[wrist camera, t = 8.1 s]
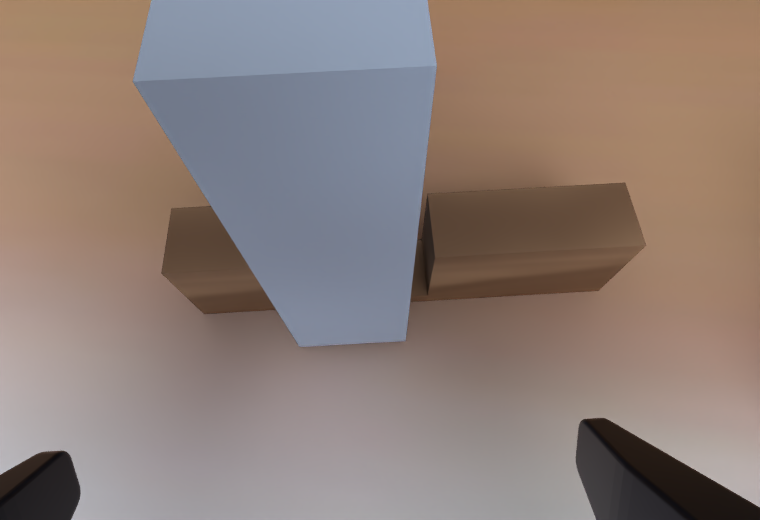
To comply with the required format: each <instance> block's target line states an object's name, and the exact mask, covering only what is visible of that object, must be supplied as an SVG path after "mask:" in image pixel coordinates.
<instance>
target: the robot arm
mask: <svg viewBox="0 0 760 520" xmlns="http://www.w3.org/2000/svg"><path fill="white" fill-rule="evenodd" d="M576 465H577V469H578V473H579V475H580V478H581V481H582V483H583V486H584V488H585V491H586V494H587V496H588V499H589V502H590V504H591V507H592V509H593V512H594V515H595V517H596V520H760V507H758V506H756V505H755V504H753V503H751V502H749V501H748V500H746V499H744V498H742V497H741V496H739V495H737V494H736V493H734V492H732V491H730V490H729V489H727V488H725V487H723V486H722V485H720V484H718V483H717V482H715V481H713V480H711V479H710V478H708V477H706V476H704V475H703V474H701V473H699V472H697V471H696V470H694V469H692V468H691V467H689V466H687V465H685V464H684V463H682V462H680V461H678V460H677V459H675V458H673V457H672V456H670V455H668V454H666V453H665V452H663V451H661V450H659V449H658V448H656V447H654V446H653V445H651V444H649V443H647V442H646V441H644V440H642V439H640V438H639V437H637V436H635V435H634V434H632V433H630V432H628V431H627V430H625V429H623V428H621V427H620V426H618V425H616V424H614V423H613V422H611V421H609V420H607V419H605V418H593V419H583V420H582V421H581V422H580V424H579V429H578V439H577V450H576ZM79 499H80V485H79V482H78V478H77V475H76V472H75V469H74V466H73V462H72V459H71V457H70V455H69V454H68V453H67V452H65V451H48V452H41V453H38V454H36V455H34V456H33V457H31V458H29V459H27V460H26V461H24V462H22V463H20V464H19V465H17V466H15V467H13V468H11V469H10V470H8V471H6V472H4V473H3V474H1V475H0V520H71V518H72V516H73V514H74V512H75V509H76V507H77V505H78V502H79Z"/></svg>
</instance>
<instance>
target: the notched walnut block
mask: <svg viewBox="0 0 760 520" xmlns="http://www.w3.org/2000/svg"><path fill="white" fill-rule="evenodd" d="M645 246H646V243H645V240H644V237H643V234H642V231H641V228H640V225H639V222H638V219H637V216H636V213H635V211H634V208H633V205H632V202H631V199H630V196H629V193H628V190H627V187H626V184H625V183H611V184H593V185H575V186H558V187H540V188H523V189H505V190H487V191H470V192H452V193H435V194H428V195H427V203H426V210H425V218H424V226H423V233H422V239H420V240H417V245H416V254H415V263H414V271H413V280H412V289H411V298H410V302H414V301H431V300H448V299H465V298H482V297H499V296H516V295H533V294H550V293H567V292H584V291H599V290H600V289H601V288H602V287H603V286H604V285H605V284H606V283H607V282H608V281H609V280H610V279H611V278H612V277H613V276H614V275H615V274H616V273H618V272H619V271H620V270H621V269H622V268H623V267H624V266H625V265H626V264H627V263H628V262H629V261H630V260H631V259H632V258H633V257H634V256H636V255H637V254H638V253H639V252H640V251H641V250H642V249H643V248H644V247H645ZM161 274H162V275H163V276H165V277H166V278H167V279H168V280H169V281H170V282H171V283H172V284H173V285H174V286H175V287H176V288H177V289H178V290H179V291H180V292H181V293H182V294H184V295H185V296H186V297H187V298H188V299H189V300H190V301H191V302H192V303H193V304H194V305H195V306H196V307H197V308H198V309H199V310H200V311H201V312H203V313H204V314H210V313H227V312H244V311H261V310H276V309H275V307H274V305H273V304H272V302H271V301H270V299H269V297H268V296H267V294H266V293H265V291H264V290H263V288H262V286H261V285H260V283H259V282H258V280H257V278H256V277H255V275H254V274H253V272H252V270H251V269H250V267H249V266H248V264H247V262H246V261H245V259H244V258H243V256H242V255H241V253H240V251H239V250H238V248H237V247H236V245H235V243H234V242H233V240H232V239H231V237H230V235H229V234H228V232H227V231H226V229H225V227H224V226H223V224H222V223H221V221H220V220H219V218H218V216H217V215H216V213H215V212H214V210H213V208H212V207H211V206H206V207H188V208H172V209H171V215H170V221H169V228H168V234H167V241H166V247H165V254H164V260H163V266H162V273H161Z"/></svg>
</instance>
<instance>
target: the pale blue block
mask: <svg viewBox="0 0 760 520" xmlns="http://www.w3.org/2000/svg"><path fill="white" fill-rule="evenodd" d="M436 68H437V64H436V57H435V50H434V43H433V36H432V30H431V23H430V16H429V9H428V2H427V0H152V1H151V5H150V9H149V13H148V18H147V22H146V26H145V31H144V35H143V39H142V44H141V48H140V52H139V57H138V61H137V65H136V70H135V74H134V78H133V83H134V84H135V86H136V88H137V89H138V91H139V92H140V94H141V96H142V97H143V99H144V100H145V102H146V103H147V105H148V107H149V108H150V110H151V111H152V113H153V115H154V116H155V118H156V119H157V121H158V123H159V124H160V126H161V127H162V129H163V130H164V132H165V134H166V135H167V137H168V138H169V140H170V142H171V143H172V145H173V146H174V148H175V150H176V151H177V153H178V154H179V156H180V158H181V159H182V161H183V162H184V164H185V165H186V167H187V169H188V170H189V172H190V173H191V175H192V177H193V178H194V180H195V181H196V183H197V185H198V186H199V188H200V189H201V191H202V193H203V194H204V196H205V197H206V199H207V200H208V202H209V204H210V205H211V207H212V208H213V210H214V212H215V213H216V215H217V216H218V218H219V220H220V221H221V223H222V224H223V226H224V227H225V229H226V231H227V232H228V234H229V235H230V237H231V239H232V240H233V242H234V243H235V245H236V247H237V248H238V250H239V251H240V253H241V255H242V256H243V258H244V259H245V261H246V262H247V264H248V266H249V267H250V269H251V270H252V272H253V274H254V275H255V277H256V278H257V280H258V282H259V283H260V285H261V286H262V288H263V290H264V291H265V293H266V294H267V296H268V297H269V299H270V301H271V302H272V304H273V305H274V307H275V309H276V310H277V312H278V313H279V315H280V317H281V318H282V320H283V321H284V323H285V324H286V326H287V328H288V329H289V331H290V332H291V334H292V336H293V337H294V339H295V340H296V342H297V344H298V345H299V347H309V346H326V345H344V344H362V343H380V342H397V341H406V333H407V325H408V316H409V307H410V298H411V289H412V280H413V271H414V263H415V254H416V245H417V236H418V227H419V218H420V209H421V201H422V192H423V183H424V174H425V165H426V156H427V147H428V139H429V130H430V121H431V112H432V103H433V94H434V85H435V77H436Z"/></svg>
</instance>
